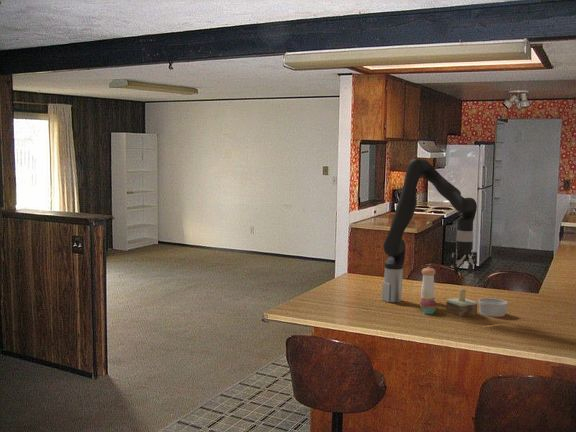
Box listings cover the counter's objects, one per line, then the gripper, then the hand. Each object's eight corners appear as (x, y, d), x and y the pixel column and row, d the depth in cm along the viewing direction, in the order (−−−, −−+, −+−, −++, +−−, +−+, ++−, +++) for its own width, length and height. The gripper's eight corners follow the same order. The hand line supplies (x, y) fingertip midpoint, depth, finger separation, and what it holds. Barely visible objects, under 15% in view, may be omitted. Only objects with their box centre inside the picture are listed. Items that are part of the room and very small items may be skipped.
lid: (460, 306, 284) (461, 292, 283) (446, 301, 293) (447, 288, 292) (477, 304, 288) (477, 290, 287) (462, 299, 297) (463, 286, 296)
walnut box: (460, 318, 285) (460, 306, 284) (445, 313, 294) (446, 301, 293) (476, 316, 289) (477, 304, 288) (461, 311, 298) (462, 299, 297)
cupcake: (427, 317, 286) (428, 292, 285) (415, 313, 293) (416, 288, 292) (441, 315, 290) (442, 290, 288) (429, 311, 297) (430, 287, 296)
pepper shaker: (417, 303, 312) (418, 266, 310) (424, 301, 317) (426, 264, 315) (429, 306, 307) (431, 268, 305) (437, 303, 313) (438, 266, 311)
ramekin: (503, 312, 298) (503, 298, 297) (510, 319, 285) (511, 305, 284) (475, 311, 299) (476, 297, 299) (481, 318, 286) (481, 303, 286)
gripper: (458, 241, 281) (457, 276, 283) (481, 240, 287) (480, 274, 289) (447, 239, 288) (446, 273, 290) (470, 238, 294) (469, 271, 296)
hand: (463, 273), depth 289 cm, fingers open, 8 cm apart
